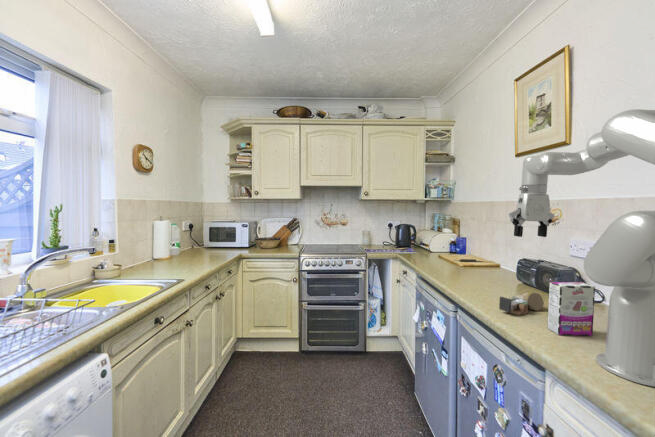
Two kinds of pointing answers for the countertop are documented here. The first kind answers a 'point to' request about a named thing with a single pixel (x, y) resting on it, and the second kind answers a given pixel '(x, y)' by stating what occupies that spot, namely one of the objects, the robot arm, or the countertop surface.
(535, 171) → the robot arm
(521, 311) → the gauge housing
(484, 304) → the countertop surface
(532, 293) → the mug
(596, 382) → the countertop surface
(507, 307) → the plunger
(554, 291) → the candy bar box
